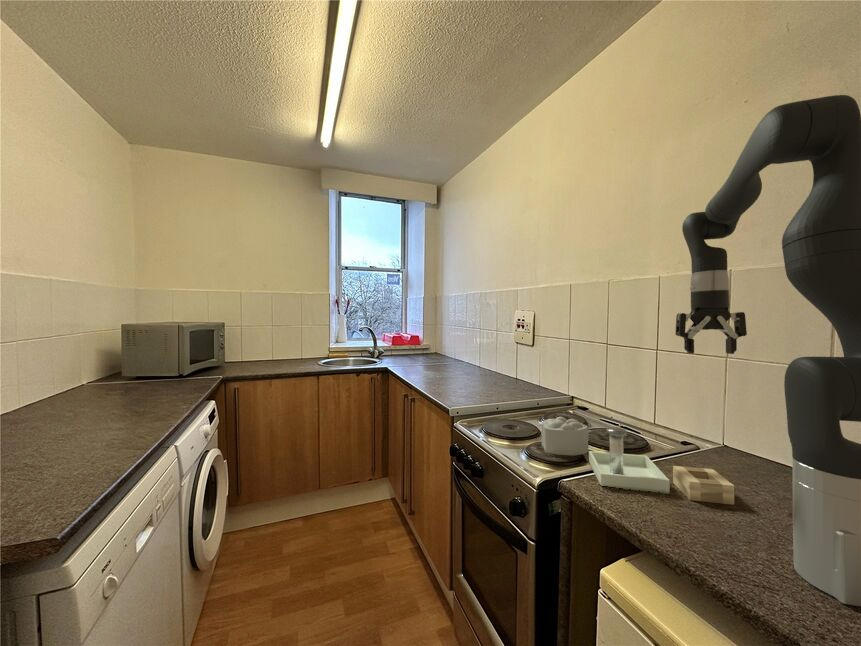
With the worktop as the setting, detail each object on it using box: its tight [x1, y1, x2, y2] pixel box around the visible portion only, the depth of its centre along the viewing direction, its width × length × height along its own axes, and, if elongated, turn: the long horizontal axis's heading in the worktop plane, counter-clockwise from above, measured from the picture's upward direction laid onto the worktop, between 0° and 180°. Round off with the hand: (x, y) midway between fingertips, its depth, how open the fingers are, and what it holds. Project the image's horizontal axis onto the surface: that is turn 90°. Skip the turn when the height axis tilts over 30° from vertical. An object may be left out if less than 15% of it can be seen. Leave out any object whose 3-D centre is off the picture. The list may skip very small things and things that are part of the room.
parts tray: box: [588, 450, 671, 495], centre depth 83 cm, size 14×14×3 cm
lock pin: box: [605, 426, 627, 475], centre depth 83 cm, size 4×4×11 cm
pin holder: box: [672, 465, 735, 505], centre depth 74 cm, size 8×8×4 cm
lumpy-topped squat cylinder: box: [540, 416, 589, 456], centre depth 101 cm, size 10×13×9 cm
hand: (710, 353), depth 85 cm, fingers open, 8 cm apart
